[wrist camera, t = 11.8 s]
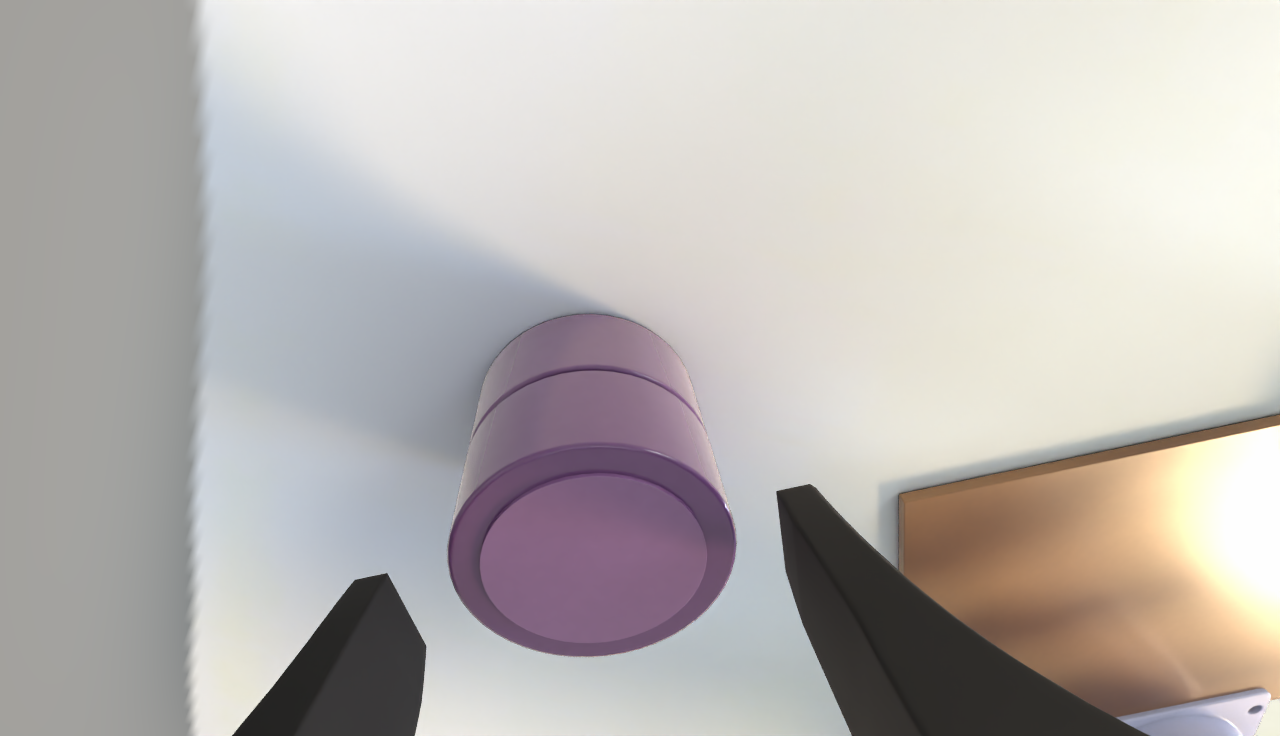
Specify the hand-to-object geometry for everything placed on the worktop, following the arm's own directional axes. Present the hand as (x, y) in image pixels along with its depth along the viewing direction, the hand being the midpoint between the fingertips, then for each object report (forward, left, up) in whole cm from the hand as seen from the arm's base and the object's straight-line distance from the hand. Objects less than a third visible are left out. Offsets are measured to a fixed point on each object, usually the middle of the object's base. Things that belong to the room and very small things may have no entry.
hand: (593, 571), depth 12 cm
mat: (-12, -19, -6) cm, 23 cm away
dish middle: (0, 0, -3) cm, 3 cm away
